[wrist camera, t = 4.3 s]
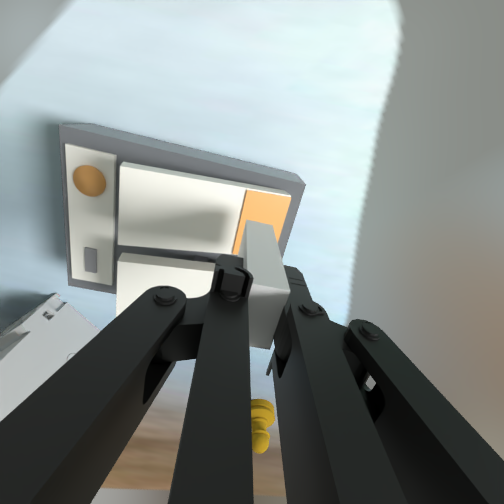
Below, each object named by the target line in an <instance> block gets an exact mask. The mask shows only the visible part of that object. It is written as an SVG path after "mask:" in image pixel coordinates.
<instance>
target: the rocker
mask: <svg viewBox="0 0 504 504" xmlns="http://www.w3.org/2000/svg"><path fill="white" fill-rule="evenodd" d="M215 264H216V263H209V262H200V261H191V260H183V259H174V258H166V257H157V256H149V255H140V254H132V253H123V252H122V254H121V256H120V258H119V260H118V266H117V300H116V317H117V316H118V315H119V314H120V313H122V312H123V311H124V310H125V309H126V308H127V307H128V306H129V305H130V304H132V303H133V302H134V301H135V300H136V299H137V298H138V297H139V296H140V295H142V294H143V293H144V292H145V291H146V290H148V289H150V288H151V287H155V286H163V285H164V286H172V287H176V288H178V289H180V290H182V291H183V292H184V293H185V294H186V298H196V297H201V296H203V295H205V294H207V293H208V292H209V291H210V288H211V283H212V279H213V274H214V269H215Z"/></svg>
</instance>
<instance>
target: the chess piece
mask: <svg viewBox="0 0 504 504" xmlns="http://www.w3.org/2000/svg"><path fill="white" fill-rule="evenodd" d="M274 421H275V416H274V407H273V405H272V404H271V403H270V402H269V401H267V400H263V399H254V400H251V426H252V450H253V451H254V452H256V453H263V452H265V451H266V450H267V448H268V445H269V438H270V434H269V433H268V432H266V428H267V427H269V426H271V425H272V424H273V423H274Z"/></svg>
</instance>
